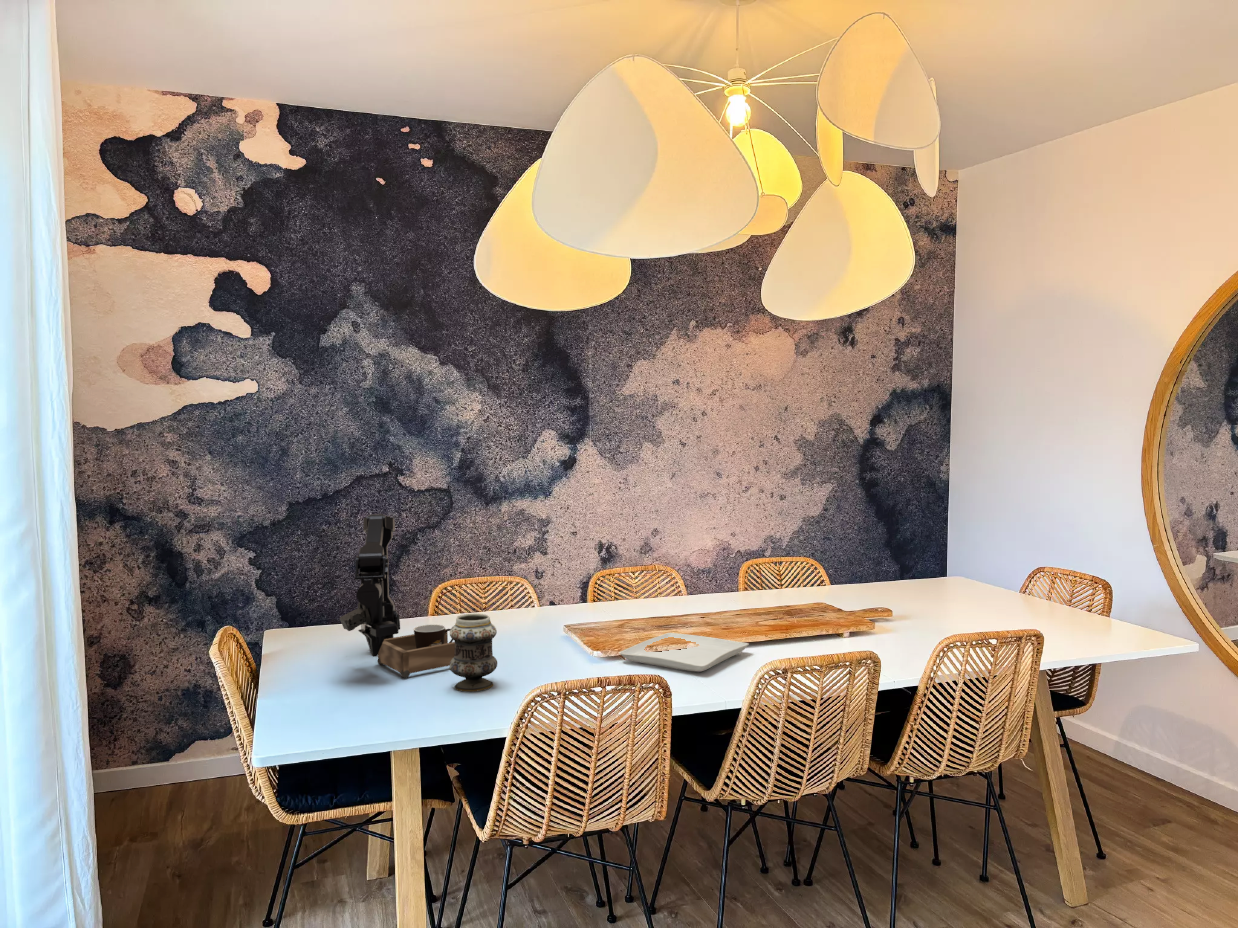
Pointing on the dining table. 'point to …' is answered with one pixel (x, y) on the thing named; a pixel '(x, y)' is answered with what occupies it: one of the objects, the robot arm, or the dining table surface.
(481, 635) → the apothecary jar
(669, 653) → the square plate
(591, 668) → the dining table surface
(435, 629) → the coffee mug
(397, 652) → the caster frame
